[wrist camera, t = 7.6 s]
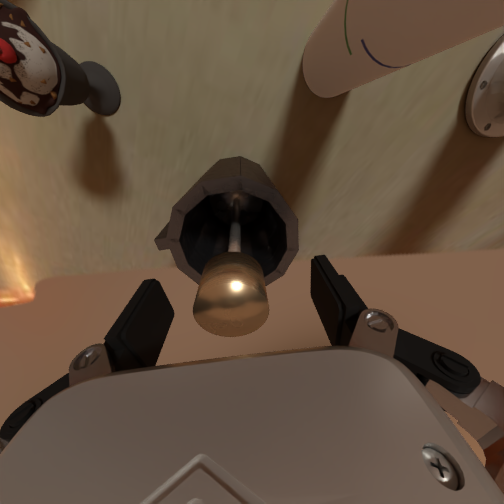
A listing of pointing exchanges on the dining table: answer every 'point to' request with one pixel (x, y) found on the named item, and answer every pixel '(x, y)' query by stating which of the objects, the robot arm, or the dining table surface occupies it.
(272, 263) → the press carafe
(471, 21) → the cylindrical container
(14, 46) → the sundae
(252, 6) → the dining table surface
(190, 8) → the dining table surface
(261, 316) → the plunger
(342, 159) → the dining table surface
